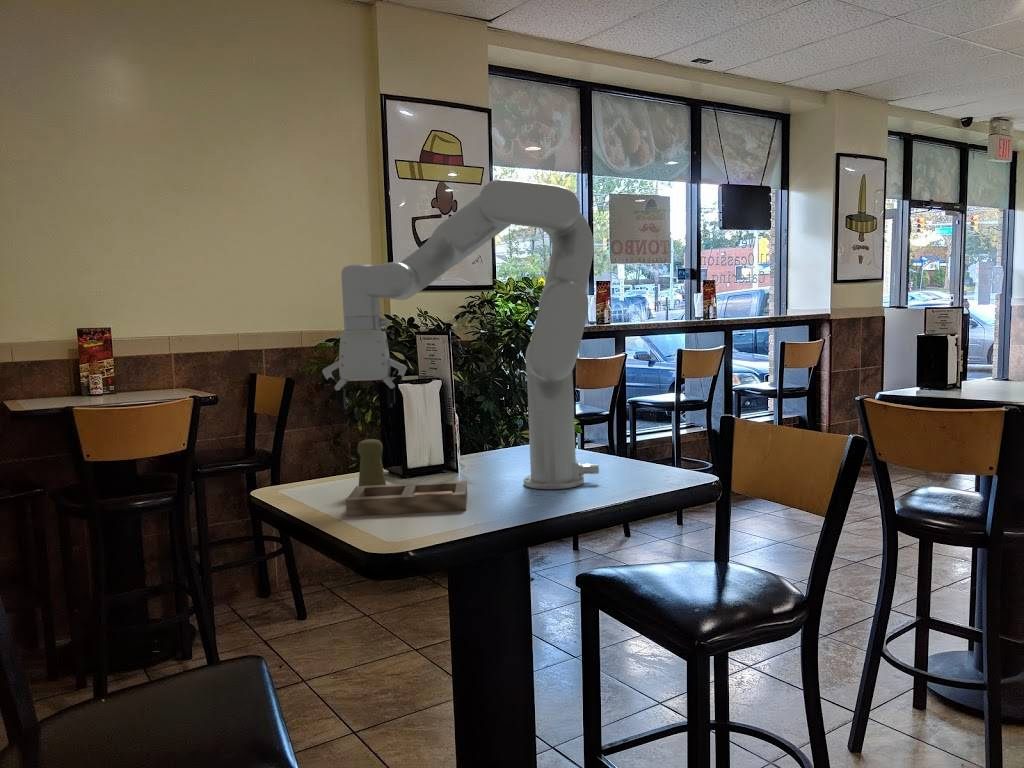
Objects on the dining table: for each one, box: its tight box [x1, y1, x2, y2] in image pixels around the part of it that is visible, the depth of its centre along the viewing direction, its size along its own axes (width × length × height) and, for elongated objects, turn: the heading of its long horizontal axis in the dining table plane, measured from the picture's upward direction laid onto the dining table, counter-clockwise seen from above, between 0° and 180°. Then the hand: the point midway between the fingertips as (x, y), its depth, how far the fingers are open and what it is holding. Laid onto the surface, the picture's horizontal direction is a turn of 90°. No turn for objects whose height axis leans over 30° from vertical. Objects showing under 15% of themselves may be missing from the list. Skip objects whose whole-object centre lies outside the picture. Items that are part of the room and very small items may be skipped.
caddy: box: [345, 480, 468, 517], centre depth 153 cm, size 22×12×3 cm, turn 92°
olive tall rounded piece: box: [356, 438, 387, 486], centre depth 166 cm, size 6×6×11 cm
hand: (366, 408), depth 165 cm, fingers open, 9 cm apart
